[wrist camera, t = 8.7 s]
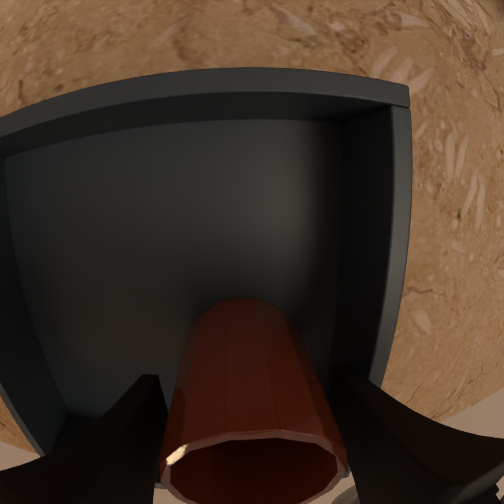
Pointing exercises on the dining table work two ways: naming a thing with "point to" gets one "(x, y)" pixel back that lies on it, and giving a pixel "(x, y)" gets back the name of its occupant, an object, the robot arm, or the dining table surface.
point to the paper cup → (249, 413)
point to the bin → (195, 228)
